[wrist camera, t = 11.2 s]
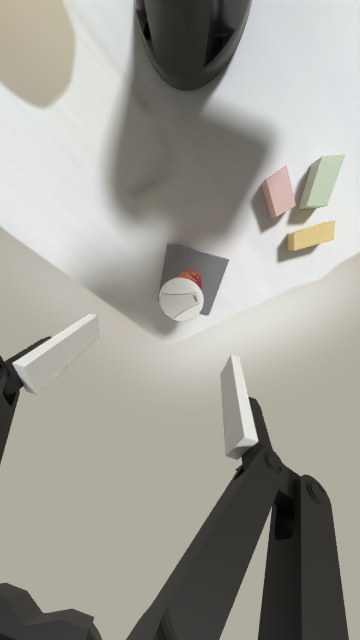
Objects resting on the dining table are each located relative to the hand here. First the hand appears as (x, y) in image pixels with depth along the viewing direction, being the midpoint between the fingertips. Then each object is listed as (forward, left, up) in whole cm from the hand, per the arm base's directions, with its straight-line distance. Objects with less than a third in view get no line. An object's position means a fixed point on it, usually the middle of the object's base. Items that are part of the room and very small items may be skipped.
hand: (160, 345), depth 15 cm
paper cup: (0, 0, -26) cm, 26 cm away
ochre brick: (-14, +19, -26) cm, 36 cm away
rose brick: (-19, +11, -27) cm, 34 cm away
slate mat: (0, 0, -26) cm, 26 cm away
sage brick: (-21, +16, -26) cm, 38 cm away
